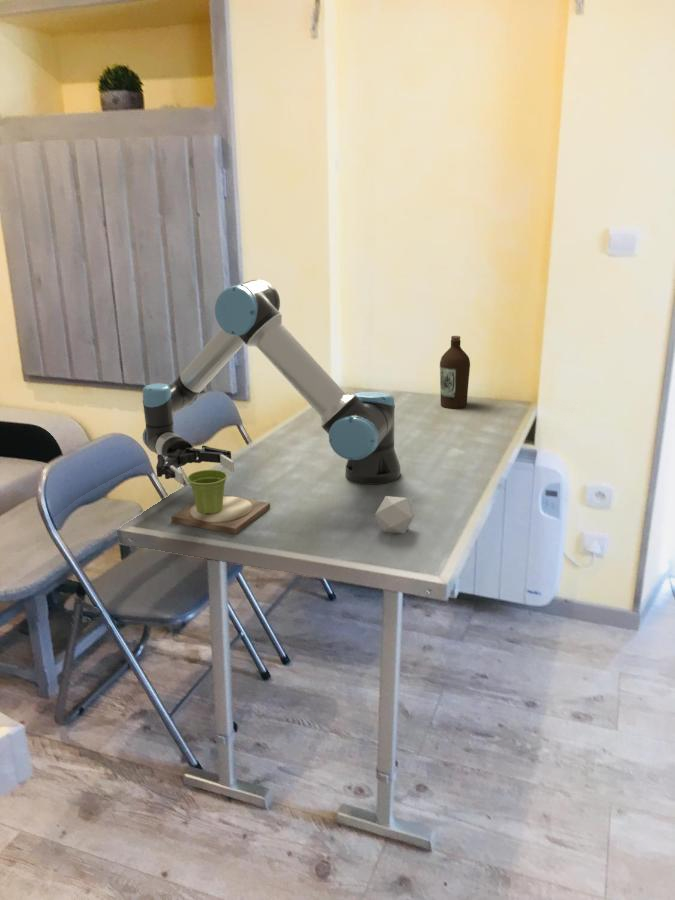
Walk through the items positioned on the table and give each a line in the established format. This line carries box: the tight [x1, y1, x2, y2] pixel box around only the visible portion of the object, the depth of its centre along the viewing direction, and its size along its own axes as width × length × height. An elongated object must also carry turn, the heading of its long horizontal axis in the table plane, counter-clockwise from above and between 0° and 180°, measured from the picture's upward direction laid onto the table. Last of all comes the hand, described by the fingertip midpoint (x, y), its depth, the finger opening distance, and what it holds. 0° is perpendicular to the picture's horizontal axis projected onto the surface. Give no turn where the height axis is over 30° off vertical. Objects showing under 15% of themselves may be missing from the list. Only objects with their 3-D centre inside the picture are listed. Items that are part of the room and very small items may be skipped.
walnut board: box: [171, 494, 271, 535], centre depth 182 cm, size 18×16×2 cm
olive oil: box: [439, 335, 471, 410], centre depth 266 cm, size 11×11×25 cm
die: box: [375, 495, 415, 535], centre depth 172 cm, size 8×9×10 cm
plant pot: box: [186, 469, 228, 514], centre depth 180 cm, size 9×9×9 cm
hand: (207, 472), depth 184 cm, fingers open, 13 cm apart
